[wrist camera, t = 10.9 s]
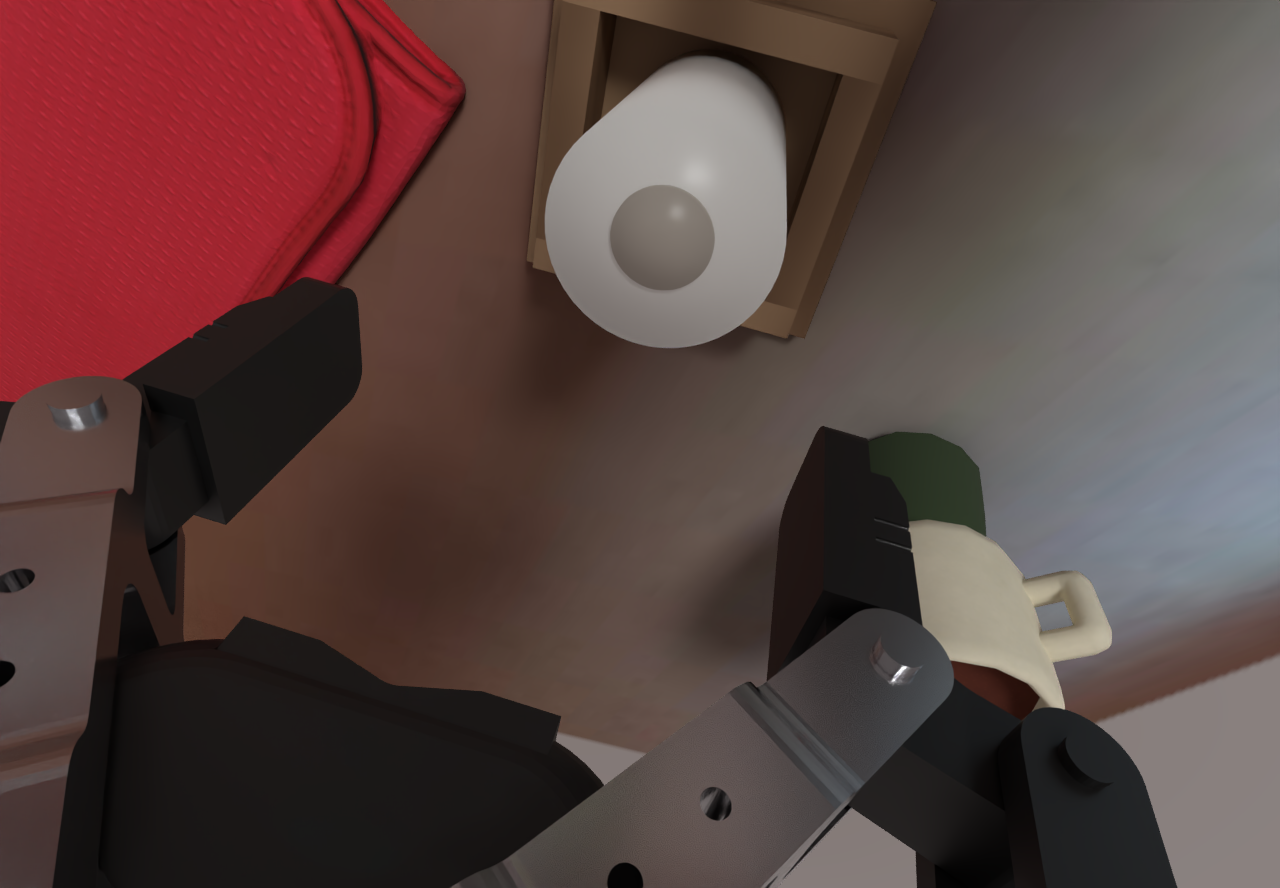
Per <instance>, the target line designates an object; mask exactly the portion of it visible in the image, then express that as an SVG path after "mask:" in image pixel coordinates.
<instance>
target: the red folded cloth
mask: <svg viewBox="0 0 1280 888" xmlns="http://www.w3.org/2000/svg"><path fill="white" fill-rule="evenodd" d="M465 92H466V88H465V84H464V82H463V80H462V79H461V78H460V77H459V76H458V75H457V74H456V72H455V71H454V70H452V69H451V68H450V67H449V66H448V65H447V64H446V63H445V62H443V61H442V60H441V59H439V58H438V57H437V56H436V55H435V54H434V53H433V52H432V51H431V50H430V49H429V48H428V47H427V46H426V45H425V44H424V43H423V42H422V41H421V40H420V39H419V38H418V37H417V36H416V35H414V33H413V32H412V30H411V29H409V28H408V27H407V26H406V25H405V24H404V23H403V22H402V21H401V20H400V18H399V17H398V16H397V15H396V14H395V13H394V12H393V11H392V10H391V9H390V8H389V7H388V6H387V4H386V3H385V2H384V1H383V0H0V401H8V402H16V401H17V400H19V399H20V398H21V397H22V396H23V395H25V394H27V393H28V392H30V391H31V390H33V389H36V388H38V387H40V386H42V385H45V384H48V383H50V382H54V381H58V380H61V379H66V378H72V377H80V376H106V377H112V378H117V379H120V380H122V379H124V378H125V377H127V376H128V375H130V374H132V373H133V372H135V371H136V370H138V369H139V368H141V367H142V366H144V365H146V364H147V363H149V362H150V361H152V360H153V359H155V358H156V357H158V356H160V355H161V354H163V353H164V352H166V351H167V350H169V349H170V348H172V347H174V346H175V345H177V344H178V343H180V342H181V341H183V340H185V339H186V338H188V337H190V338H193V334H194V333H195V332H197V331H199V330H200V329H202V328H203V327H205V326H206V325H208V324H209V325H212V324H213V321H214V320H216V319H217V318H219V317H220V316H222V315H223V314H225V313H227V312H228V311H230V310H231V309H233V308H234V307H236V306H238V305H242V304H245V303H248V302H251V301H255V300H258V299H261V298H264V297H268V296H270V297H273V296H275V295H276V294H278V293H279V292H281V291H282V290H284V289H285V288H287V287H288V286H290V285H291V284H293V283H294V282H296V281H297V280H299V279H301V278H303V277H310V278H314V279H317V280H321V281H324V282H328V283H331V284H335V283H336V282H337V280H338V279H339V278H340V277H341V275H342V274H343V273H344V272H345V270H346V269H347V268H348V267H349V265H350V264H351V262H352V261H353V260H354V258H355V257H356V256H357V255H358V253H359V252H360V251H361V249H362V248H363V247H364V245H365V244H366V243H367V241H368V240H369V238H370V237H371V236H372V234H373V233H374V231H375V230H376V228H377V227H378V225H379V224H380V222H381V221H382V219H383V218H384V217H385V215H386V214H387V212H388V211H389V209H390V208H391V207H392V205H393V204H394V202H395V201H396V199H397V198H398V196H399V195H400V193H401V192H402V190H403V189H404V187H405V185H406V184H407V183H408V181H409V180H410V178H411V177H412V175H413V174H414V173H415V171H416V170H417V168H418V167H419V165H420V164H421V162H422V161H423V159H424V158H425V156H426V155H427V153H428V152H429V150H430V149H431V147H432V146H433V144H434V143H435V141H436V140H437V138H438V137H439V135H440V134H441V132H442V131H443V129H444V128H445V126H446V125H447V123H448V121H449V120H450V118H451V117H452V115H453V113H454V111H455V110H456V109H457V107H458V105H459V104H460V103H461V101H462V100H463V99H464V95H465Z"/></svg>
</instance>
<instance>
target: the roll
mask: <svg viewBox="0 0 1280 888" xmlns="http://www.w3.org/2000/svg"><path fill="white" fill-rule="evenodd" d="M786 235H787V197H786V125H785V116H784V112H783V107H782V104H781V101H780V99H779V96H778V94H777V92H776V90H775V88H774V86H773V85H772V83H771V82H770V81H769V79H768V78H767V77H766V75H765V74H764V73H763V72H762V71H761V70H760V69H759V68H758V67H756V66H755V65H754V64H753V63H751V62H750V61H748V60H746V59H745V58H743V57H741V56H739V55H736V54H734V53H731V52H727V51H723V50H716V49H701V50H695V51H690V52H687V53H684V54H681V55H679V56H677V57H675V58H673V59H671V60H669V61H668V62H666V63H665V64H664V65H662V66H661V67H660V68H658V69H657V70H656V71H655V72H654V73H653V74H652V75H650V76H649V77H648V78H647V79H646V80H645V81H644V82H642V83H641V84H640V85H639V86H638V87H637V88H636V89H635V90H633V91H632V92H631V93H630V94H629V95H628V96H627V97H625V98H624V99H623V100H622V101H621V102H620V103H619V104H618V105H616V106H615V107H614V108H613V109H612V110H611V111H610V112H608V113H607V114H606V115H605V116H604V117H603V118H602V119H600V120H599V121H598V122H597V123H596V124H595V125H594V126H593V127H591V128H590V129H589V130H588V131H587V132H586V133H585V134H584V135H583V136H582V137H581V138H580V139H579V140H578V141H577V142H576V143H575V144H574V145H573V146H572V147H571V149H570V150H569V151H568V152H567V154H566V155H565V156H564V158H563V160H562V161H561V163H560V165H559V167H558V169H557V170H556V172H555V175H554V178H553V180H552V183H551V185H550V189H549V193H548V197H547V201H546V209H545V236H546V243H547V249H548V253H549V256H550V260H551V263H552V266H553V268H554V270H555V273H556V275H557V278H558V279H559V281H560V283H561V285H562V286H563V288H564V290H565V291H566V293H567V294H568V295H569V297H570V298H571V300H572V301H573V302H574V303H575V304H576V306H577V307H578V308H579V309H580V310H581V311H582V312H583V313H584V314H585V315H586V316H587V317H589V318H590V319H591V320H592V321H593V322H594V323H596V324H597V325H599V326H600V327H602V328H603V329H605V330H606V331H608V332H610V333H612V334H614V335H616V336H618V337H620V338H622V339H625V340H628V341H630V342H633V343H637V344H641V345H645V346H650V347H658V348H681V347H690V346H695V345H699V344H703V343H706V342H709V341H712V340H714V339H717V338H719V337H721V336H723V335H725V334H727V333H729V332H731V331H732V330H734V329H735V328H736V327H738V326H739V325H741V324H742V323H743V322H745V321H746V320H747V319H748V318H749V317H750V316H751V315H752V314H753V313H754V312H755V311H756V310H757V309H758V308H759V306H760V305H761V304H762V303H763V302H764V300H765V299H766V297H767V296H768V294H769V292H770V291H771V289H772V287H773V285H774V283H775V281H776V279H777V277H778V275H779V272H780V269H781V265H782V262H783V259H784V253H785V248H786Z"/></svg>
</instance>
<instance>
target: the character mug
mask: <svg viewBox="0 0 1280 888" xmlns="http://www.w3.org/2000/svg"><path fill="white" fill-rule="evenodd" d="M868 444H869V456H870V469H871V472H873V473H876V474H880V475H883V476H887V477H890V478H891V479H892V481H893V482H894V484H895V485H896V487H897V489H898V490H899V492H900V493H901V495H902V497H903V498H904V500H905V501H906V504H907V512H908V519H909V530H908V531H909V532H910V534H911V542H912V549H911V552H913V557H914V564H915V572H916V579H917V587H918V594H919V602H920V609H921V617H922V624H923V627H924V628H925V629H927V630H928V631H929V632H930V633H931V634H932V635H933V636H934V637H935V638H936V639H937V640H938V642H939V643H940V644H941V645H942V647H943V648H944V650H945V651H946V653H947V655H948V657H949V659H950V661H951V664H952V668H953V673H954V678H955V679H956V680H957V681H959V682H960V683H961V684H962V685H964V686H965V687H966V688H968V689H969V690H971V691H973V692H974V693H976V694H977V695H979V696H981V697H982V698H984V699H986V700H987V701H989V702H991V703H993V704H994V705H996V706H998V707H999V708H1001V709H1003V710H1004V711H1006V712H1008V713H1010V714H1011V715H1013V716H1015V717H1016V718H1018V719H1020V720H1023V719H1024V718H1025V717H1026V716H1027V715H1028V714H1029V713H1031V712H1032V711H1034V710H1036V709H1039V708H1044V707H1054V708H1061V709H1064V710H1065V705H1064V700H1063V695H1062V691H1061V687H1060V684H1059V681H1058V678H1057V675H1056V672H1055V669H1054V666H1053V663H1052V662H1058V661H1063V660H1069V659H1074V658H1080V657H1085V656H1091V655H1096V654H1098V653H1100V652H1102V651H1104V650H1106V649H1108V648H1109V647H1110V645H1111V640H1112V630H1111V628H1110V625H1109V623H1108V621H1107V618H1106V616H1105V614H1104V611H1103V609H1102V607H1101V604H1100V602H1099V600H1098V597H1097V595H1096V593H1095V590H1094V588H1093V586H1092V583H1091V582H1090V581H1089V580H1088V579H1087V578H1086V577H1085V576H1084V575H1083V574H1081V573H1079V572H1078V571H1060V572H1056V573H1051V574H1047V575H1043V576H1038V577H1034V578H1030V579H1025V577H1024V575H1023V574H1022V573H1021V572H1020V570H1019V569H1018V568H1017V567H1016V566H1015V564H1014V563H1013V562H1012V561H1011V560H1010V558H1009V557H1008V556H1007V555H1006V554H1005V552H1004V551H1003V550H1002V549H1001V548H1000V547H999V545H998V544H997V543H996V542H995V541H993V540H991V539H989V538H987V537H986V525H985V512H984V503H983V495H982V487H981V480H980V472H979V468H978V466H977V465H976V464H975V463H974V462H973V461H972V460H971V458H970V457H969V456H968V455H967V454H966V453H965V451H964V450H963V449H962V448H961V447H959V446H957V445H955V444H952V443H950V442H948V441H946V440H944V439H941V438H939V437H937V436H935V435H933V434H926V433H909V432H895V433H892V434H889V435H886V436H883V437H880V438H878V439H875V440H872V441H869V442H868ZM1062 601H1064V602H1065V604H1066V607H1067V610H1068V612H1069V615H1070V618H1071V620H1072V623H1073V625H1072V626H1069V627H1064V628H1058V629H1053V630H1048V631H1043V632H1042V629H1041V626H1040V623H1039V620H1038V617H1037V614H1036V611H1035V608H1034V607H1039V606H1043V605H1048V604H1053V603H1057V602H1062Z"/></svg>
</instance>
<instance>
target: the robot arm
mask: <svg viewBox="0 0 1280 888" xmlns="http://www.w3.org/2000/svg"><path fill="white" fill-rule="evenodd" d="M361 375H362V358H361V343H360V328H359V313H358V301H357V297H356V295H355V293H354V292H353V291H352V290H351V289H349V288H345V287H342V286H338V285H335V284H331V283H328V282H324V281H321V280H317V279H314V278H310V277H303V278H301V279H299V280H297V281H296V282H294V283H293V284H291V285H290V286H288V287H287V288H285V289H284V290H282V291H281V292H279V293H278V294H276V295H275V296H273V297H270V296H268V297H264V298H261V299H258V300H255V301H251V302H248V303H245V304H242V305H238V306H236V307H234V308H233V309H231V310H230V311H228V312H227V313H225V314H223V315H222V316H220V317H219V318H217V319H216V320H214V321H213V324H212V325H209V324H208V325H206V326H205V327H203V328H202V329H200V330H199V331H197V332H195V333H194V334H193V338H190V337H188V338H186V339H185V340H183V341H181V342H180V343H178V344H177V345H175V346H174V347H172V348H170V349H169V350H167V351H166V352H164V353H163V354H161V355H160V356H158V357H156V358H155V359H153V360H152V361H150V362H149V363H147V364H146V365H144V366H142V367H141V368H139V369H138V370H136V371H135V372H133V373H132V374H130V375H128V376H127V377H125V378H124V379H122V380H120V379H117V378H112V377H106V376H80V377H72V378H66V379H61V380H58V381H54V382H50V383H48V384H45V385H42V386H40V387H38V388H36V389H33V390H31V391H30V392H28V393H27V394H25V395H23V396H22V397H21V398H20V399H19V400H17V401H16V402H8V401H0V888H777V887H778V886H779V885H780V884H781V883H782V882H783V881H784V880H785V879H786V878H787V877H788V876H789V874H791V872H792V871H793V870H794V869H795V868H796V867H797V866H798V865H799V864H800V863H801V862H802V861H803V859H805V858H806V857H807V856H808V854H809V853H810V852H811V851H812V850H813V849H814V848H815V847H816V846H817V845H818V844H819V843H820V842H821V841H822V840H823V839H824V837H825V836H826V835H827V834H828V833H829V832H830V831H831V830H832V829H833V828H834V827H835V826H836V825H837V824H838V823H839V822H840V821H841V820H842V818H843V817H844V816H845V815H846V814H847V813H848V812H849V811H850V810H851V809H852V808H853V809H855V810H856V811H857V812H859V813H860V814H862V815H863V816H865V817H866V818H868V819H869V820H871V821H872V822H873V823H875V824H876V825H878V826H879V827H881V828H882V829H884V830H885V831H887V832H888V833H890V834H891V835H893V836H894V837H896V838H897V839H898V840H900V841H901V842H903V843H904V844H906V845H907V846H909V847H910V848H912V849H913V850H915V851H916V874H917V888H1177V885H1176V882H1175V879H1174V876H1173V873H1172V869H1171V866H1170V863H1169V860H1168V856H1167V853H1166V850H1165V847H1164V844H1163V840H1162V837H1161V834H1160V831H1159V827H1158V824H1157V821H1156V818H1155V815H1154V812H1153V808H1152V805H1151V802H1150V799H1149V795H1148V792H1147V789H1146V786H1145V783H1144V781H1143V778H1142V776H1141V774H1140V772H1139V770H1138V769H1137V767H1136V765H1135V764H1134V762H1133V761H1132V759H1131V758H1130V756H1129V755H1128V754H1127V753H1126V751H1125V750H1123V748H1122V747H1121V746H1120V745H1119V744H1118V743H1117V742H1116V741H1115V740H1114V739H1113V738H1112V737H1111V736H1110V735H1109V734H1108V733H1106V732H1105V731H1104V730H1103V729H1102V728H1100V727H1099V726H1097V725H1096V724H1094V723H1093V722H1091V721H1090V720H1088V719H1086V718H1084V717H1082V716H1081V715H1078V714H1076V713H1074V712H1071V711H1068V710H1064V709H1061V708H1054V707H1044V708H1039V709H1036V710H1034V711H1032V712H1031V713H1029V714H1028V715H1027V716H1026V717H1025V718H1024V719H1023V720H1020V719H1018V718H1016V717H1015V716H1013V715H1011V714H1010V713H1008V712H1006V711H1004V710H1003V709H1001V708H999V707H998V706H996V705H994V704H993V703H991V702H989V701H987V700H986V699H984V698H982V697H981V696H979V695H977V694H976V693H974V692H973V691H971V690H969V689H968V688H966V687H965V686H964V685H962V684H961V683H960V682H959V681H957V680H956V679H955V678H954V673H953V668H952V664H951V661H950V659H949V657H948V655H947V653H946V651H945V650H944V648H943V647H942V645H941V644H940V643H939V642H938V640H937V639H936V638H935V637H934V636H933V635H932V634H931V633H930V632H929V631H928V630H927V629H925V628H924V627H923V624H922V617H921V609H920V602H919V594H918V587H917V579H916V572H915V564H914V557H913V552H911V549H912V542H911V534H910V532H909V531H908V530H909V519H908V512H907V504H906V501H905V500H904V498H903V497H902V495H901V493H900V492H899V490H898V489H897V487H896V485H895V484H894V482H893V481H892V479H891V478H890V477H887V476H883V475H880V474H876V473H873V472H871V469H870V456H869V444H868V440H867V439H866V438H863V437H859V436H856V435H852V434H849V433H845V432H842V431H838V430H835V429H831V428H828V427H825V426H822V427H820V428H819V430H818V431H817V433H816V435H815V437H814V439H813V442H812V444H811V446H810V448H809V450H808V453H807V455H806V457H805V459H804V462H803V464H802V466H801V468H800V471H799V473H798V475H797V477H796V480H795V482H794V484H793V486H792V488H791V491H790V493H789V495H788V498H787V501H786V504H785V507H784V510H783V514H782V518H781V523H780V529H779V539H778V551H777V563H776V576H775V588H774V600H773V612H772V624H771V636H770V648H769V660H768V672H767V682H765V683H764V684H763V685H761V686H759V687H757V688H756V687H755V685H754V684H753V683H751V682H746V683H743V684H741V685H739V686H738V687H736V688H734V689H733V690H732V691H730V692H729V693H727V694H726V695H725V696H723V697H722V698H721V699H719V700H718V701H717V702H715V703H714V704H713V705H711V706H710V707H709V708H707V709H706V710H705V711H703V712H702V713H701V714H699V715H698V716H697V717H695V718H694V719H693V720H691V721H690V722H689V723H687V724H686V725H685V726H683V727H682V728H681V729H679V730H678V731H677V732H675V733H674V734H673V735H671V736H670V737H669V738H667V739H666V740H665V741H663V742H662V743H661V744H659V745H658V746H656V747H655V748H654V749H652V750H651V751H650V752H648V753H647V754H646V755H644V756H643V757H642V758H640V759H639V760H638V761H636V762H635V763H634V764H632V765H631V766H630V767H628V768H627V769H626V770H624V771H623V772H622V773H620V774H619V775H618V776H616V777H615V778H614V779H613V780H611V781H610V782H608V783H607V784H606V785H604V784H603V783H602V782H601V780H600V779H599V778H598V777H597V776H596V775H595V774H594V772H593V771H592V770H591V769H590V768H589V767H588V766H587V765H586V764H585V763H584V762H583V761H582V760H580V759H579V758H578V757H577V756H576V755H574V754H573V753H572V752H571V751H569V750H568V749H566V748H565V747H563V746H562V745H561V744H559V743H557V742H556V736H557V732H558V728H559V723H560V719H561V716H558V715H555V714H552V713H549V712H546V711H543V710H539V709H536V708H533V707H530V706H527V705H524V704H520V703H517V702H514V701H511V700H508V699H505V698H501V697H498V696H495V695H492V694H489V693H486V692H482V691H469V690H454V689H439V688H423V687H408V686H396V685H391V684H388V683H386V682H384V681H382V680H380V679H379V678H377V677H376V676H374V675H373V674H371V673H370V672H368V671H367V670H365V669H364V668H362V667H361V666H359V665H357V664H356V663H354V662H353V661H351V660H350V659H348V658H347V657H345V656H344V655H342V654H341V653H339V652H338V651H336V650H334V649H333V648H331V647H330V646H328V645H327V644H325V643H324V642H322V641H321V640H318V639H314V638H311V637H308V636H305V635H302V634H299V633H295V632H292V631H289V630H286V629H283V628H280V627H276V626H273V625H270V624H267V623H264V622H261V621H257V620H254V619H251V618H248V617H245V616H244V617H243V618H242V619H241V621H240V622H239V623H238V624H237V625H236V626H235V628H234V629H233V630H232V631H231V632H230V634H229V635H228V636H227V637H226V638H225V639H224V640H223V639H211V640H193V641H186V642H184V635H183V620H184V574H185V535H184V532H183V529H182V525H183V524H184V523H185V522H186V521H187V520H189V519H190V518H191V517H192V516H193V515H196V516H199V517H202V518H206V519H209V520H212V521H215V522H219V523H222V524H225V525H226V524H227V523H228V522H229V521H230V520H231V519H232V518H233V517H234V516H235V515H236V514H237V513H238V512H239V511H240V510H241V509H242V508H243V507H244V506H245V505H246V504H247V503H248V502H249V501H250V500H251V499H252V498H253V497H254V496H255V495H256V494H257V493H258V492H259V491H260V490H261V489H262V488H263V487H264V486H265V485H267V484H268V483H269V482H270V481H271V480H272V479H273V478H274V477H275V476H276V475H277V474H278V473H279V472H280V471H281V470H282V469H283V468H284V467H285V466H286V465H287V464H288V463H289V462H290V461H291V460H292V459H293V458H294V457H295V456H296V455H297V454H298V453H299V452H300V451H301V450H302V449H303V448H304V447H305V446H306V445H307V444H308V443H309V442H310V441H311V440H312V439H313V438H314V437H315V436H316V435H317V434H318V433H319V432H320V431H321V430H322V429H323V428H324V427H325V426H326V425H327V424H328V423H329V422H330V421H331V420H332V419H333V418H334V417H335V416H336V415H337V414H338V413H339V412H340V411H341V410H342V409H343V408H344V407H345V406H346V405H347V404H348V403H349V402H350V401H351V400H352V398H353V397H354V395H355V393H356V391H357V389H358V386H359V384H360V380H361Z"/></svg>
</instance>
